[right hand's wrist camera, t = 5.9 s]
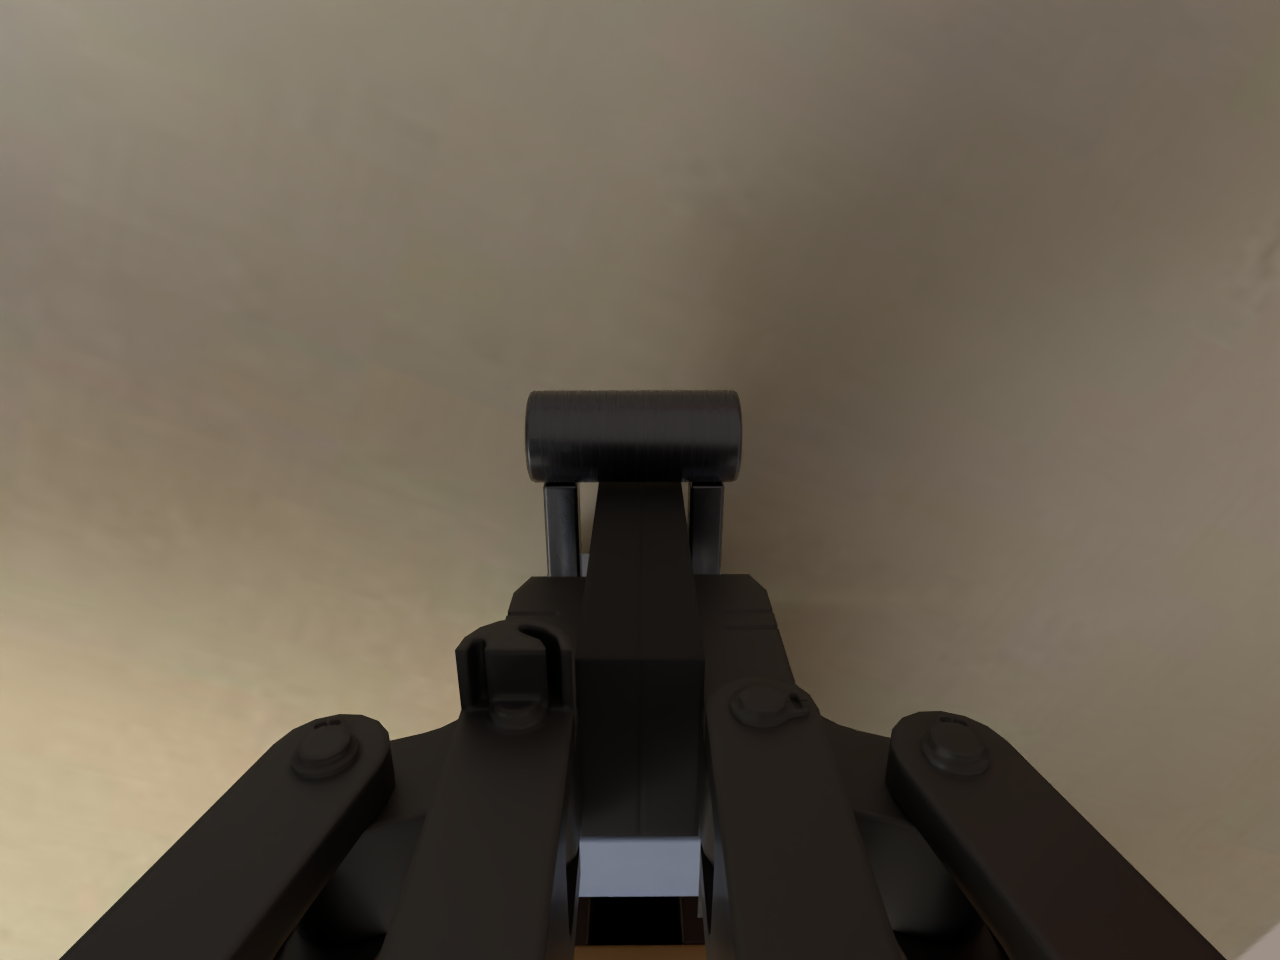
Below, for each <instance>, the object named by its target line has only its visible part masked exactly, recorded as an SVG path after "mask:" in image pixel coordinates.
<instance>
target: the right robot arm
mask: <svg viewBox="0 0 1280 960" xmlns="http://www.w3.org/2000/svg"><path fill="white" fill-rule="evenodd" d="M455 654H456V663H457V672H458V681H459V691H460V700H461V709H462V710H461V713H460V716H459V719H458V720H456V721H454V722H452V723H450V724H448V725H446V726H444V727H442V728H439V729H436V730H432V731H429V732H426V733H422V734H418V735H414V736H409V737H405V738H401V739H396V740H392V741H390V740H389V733H388V731H387V730H386V729H385V728H384V727H383V726H382V725H381V723H380V722H379V721H377V720H374V719H372V718H369V717H366V716H363V715H351V714H338V715H333V716H329V717H324V718H320V719H315V720H313V721H311V722H309V723H306V724H304V725H302V726H300V727H298V728H295V729H293V730H292V731H290V732H289V733H288V734H286V735H285V736H284V737H283V738H281V739H280V740H279V741H277V742H276V743H275V744H273V745H272V746H271V747H270V748H269V749H268V750H267V752H266V753H265V754H264V755H263V756H262V757H261V758H260V759H259V760H258V761H257V762H256V763H255V764H254V765H253V766H252V767H251V768H250V769H249V770H248V771H247V772H246V773H245V774H244V775H243V776H242V777H241V778H240V779H239V780H238V781H237V782H236V783H235V784H234V785H233V786H232V787H231V788H230V789H229V790H228V791H227V792H226V793H225V794H224V795H223V796H222V797H221V798H220V799H219V800H218V801H217V802H216V803H215V804H214V805H213V806H212V807H211V808H210V809H209V810H208V811H207V812H206V813H205V814H204V815H203V816H202V817H201V818H200V819H199V820H198V821H197V822H196V823H195V824H194V825H193V826H192V827H191V828H190V829H189V830H188V831H187V832H186V833H185V834H184V835H183V836H182V837H181V838H180V839H179V840H178V841H177V842H176V843H175V844H174V845H173V846H172V847H171V848H170V849H169V850H168V851H167V852H166V853H165V854H164V855H163V856H162V857H161V858H160V859H159V860H158V861H157V862H156V863H155V864H154V865H153V866H152V867H151V868H150V869H149V870H148V871H147V872H146V873H145V874H144V875H143V876H142V877H141V878H140V879H139V880H138V881H137V882H136V883H135V884H134V885H133V886H132V887H131V888H130V889H129V890H128V891H127V892H126V893H125V894H124V895H123V896H122V897H121V898H120V899H119V900H118V901H117V902H116V903H115V904H114V905H113V906H112V907H111V908H110V909H109V910H108V911H107V912H106V913H105V914H104V915H103V916H102V917H101V918H100V919H99V920H98V921H97V922H96V923H95V924H94V925H93V926H92V927H91V928H90V929H89V930H88V931H87V932H86V933H85V934H84V935H83V936H82V937H81V938H80V939H79V940H78V941H77V942H76V943H75V944H74V945H73V946H72V947H71V948H70V949H69V950H68V951H67V952H66V953H65V954H64V955H63V956H62V957H61V958H60V959H59V960H574V949H575V937H576V925H577V913H578V900H579V888H580V876H581V868H580V844H579V843H580V832H581V833H582V836H698V834H699V828H700V839H701V844H700V868H699V893H698V917H697V918H703V924H704V936H705V948H706V960H1226V959H1225V958H1224V957H1223V956H1222V955H1221V954H1220V953H1219V952H1218V951H1217V950H1216V949H1215V948H1214V947H1213V946H1212V945H1211V944H1210V943H1209V942H1208V941H1207V940H1206V939H1205V938H1204V937H1203V936H1202V935H1201V934H1200V933H1199V932H1198V931H1197V930H1196V929H1195V928H1194V927H1193V926H1192V925H1191V924H1190V923H1189V922H1188V921H1187V920H1186V919H1185V918H1184V917H1183V916H1182V915H1181V914H1180V913H1179V912H1178V911H1177V910H1176V909H1175V908H1174V907H1173V906H1172V905H1171V904H1170V903H1169V902H1168V901H1167V900H1166V899H1165V898H1164V897H1163V896H1162V895H1161V894H1160V893H1159V892H1158V891H1157V890H1156V889H1155V888H1154V887H1153V886H1152V885H1151V884H1150V883H1149V882H1148V881H1147V880H1146V879H1145V878H1144V877H1143V876H1142V875H1141V874H1140V873H1139V872H1138V871H1137V870H1136V869H1135V868H1134V867H1133V866H1132V865H1131V864H1130V863H1129V862H1128V861H1127V860H1126V859H1125V858H1124V857H1123V856H1122V855H1121V854H1120V853H1119V852H1118V851H1117V850H1116V849H1115V848H1114V847H1113V846H1112V845H1111V844H1110V843H1109V842H1108V841H1107V840H1106V839H1105V838H1104V837H1103V836H1102V835H1101V834H1100V833H1099V832H1098V831H1097V830H1096V829H1095V828H1094V827H1093V826H1092V825H1091V824H1090V823H1089V822H1088V821H1087V820H1086V819H1085V818H1084V817H1083V816H1082V815H1081V814H1080V813H1079V812H1078V811H1077V810H1076V809H1075V808H1074V807H1073V806H1072V805H1071V804H1070V803H1069V802H1068V801H1067V800H1066V799H1065V798H1064V797H1063V796H1062V795H1061V794H1060V793H1059V792H1058V791H1057V790H1056V789H1055V788H1054V787H1053V786H1052V785H1051V784H1050V783H1049V782H1048V781H1047V780H1046V779H1045V778H1044V777H1043V776H1042V775H1041V774H1040V773H1039V772H1038V771H1037V770H1036V769H1035V768H1034V767H1033V766H1032V765H1031V764H1030V763H1029V762H1028V761H1027V760H1026V759H1025V758H1024V757H1023V756H1022V755H1021V754H1020V753H1019V752H1018V751H1017V750H1016V749H1015V748H1014V747H1013V746H1011V745H1010V744H1009V743H1008V742H1007V741H1006V740H1005V739H1004V738H1002V737H1001V736H1000V735H998V734H997V733H996V732H994V731H993V730H992V729H990V728H989V727H988V726H986V725H983V724H981V723H979V722H977V721H974V720H972V719H970V718H968V717H965V716H962V715H957V714H952V713H947V712H943V711H927V712H917V713H914V714H912V715H909V716H906V717H903V718H902V719H901V720H900V721H899V722H898V723H897V724H896V725H895V727H894V728H893V729H892V734H891V738H888V737H884V736H879V735H875V734H871V733H866V732H862V731H857V730H854V729H851V728H847V727H844V726H841V725H838V724H836V723H834V722H832V721H830V720H828V719H826V718H824V717H823V716H821V715H820V712H819V709H818V707H817V706H816V704H815V702H814V701H813V699H812V698H811V696H810V695H809V694H808V693H806V692H805V691H804V690H802V689H801V688H800V687H798V686H797V685H796V684H795V681H794V677H793V674H792V671H791V668H790V665H789V661H788V658H787V655H786V652H785V649H784V645H783V642H782V639H781V636H780V632H779V629H777V623H776V620H775V616H774V613H772V607H771V604H770V600H769V597H768V594H767V591H766V590H765V589H764V588H763V587H762V586H761V585H760V584H759V583H758V582H757V581H755V580H754V579H753V578H752V577H751V576H750V575H749V574H693V566H692V559H691V552H690V544H689V537H688V530H687V523H686V515H685V508H684V501H683V494H682V486H681V482H599V487H598V494H597V501H596V508H595V516H594V523H593V530H592V538H591V545H590V552H589V559H588V567H587V574H586V577H531V578H529V579H528V580H527V581H526V582H525V583H524V584H523V585H522V586H521V587H520V588H519V589H517V590H516V591H515V592H514V594H513V597H512V600H511V603H510V607H509V610H508V616H506V620H502V621H498V622H495V623H492V624H489V625H486V626H483V627H480V628H478V629H477V630H475V631H474V632H472V633H471V634H469V635H468V636H466V637H464V639H463V640H462V641H461V643H460V644H459V646H458V647H457V648H456V650H455Z"/></svg>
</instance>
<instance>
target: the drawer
mask: <svg viewBox="0 0 1280 960" xmlns="http://www.w3.org/2000/svg"><path fill="white" fill-rule="evenodd" d="M525 452H526V463H527V469H528V473H529V476H530V479H531V480H532V481H533V482H545V483H544V487H543V492H544V511H545V531H546V550H547V569H548V574H547V577H586V574H587V567H588V559H589V554H582V550H581V519H580V489H579V482H689V486H688V524H687V530H688V537H689V544H690V552H691V559H692V566H693V574H721V550H722V529H723V507H724V484H723V482H733V481H735V480H736V479H737V477H738V475H739V471H740V466H741V457H742V412H741V404H740V400H739V397H738V394H737V392H735V391H733V390H651V391H533V392H531V393H530V395H529V397H528V401H527V406H526V416H525ZM579 844H580V868H581V876H580V888H579V900H578V913H577V925H576V937H575V946H594V945H705V936H704V924H703V918H697V917H698V893H699V868H700V844H701V839H700V828H699V834H698V836H582V833H581V832H580V843H579Z"/></svg>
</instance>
